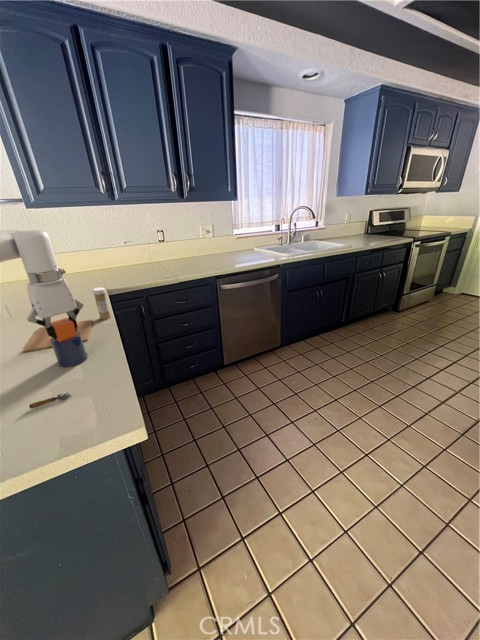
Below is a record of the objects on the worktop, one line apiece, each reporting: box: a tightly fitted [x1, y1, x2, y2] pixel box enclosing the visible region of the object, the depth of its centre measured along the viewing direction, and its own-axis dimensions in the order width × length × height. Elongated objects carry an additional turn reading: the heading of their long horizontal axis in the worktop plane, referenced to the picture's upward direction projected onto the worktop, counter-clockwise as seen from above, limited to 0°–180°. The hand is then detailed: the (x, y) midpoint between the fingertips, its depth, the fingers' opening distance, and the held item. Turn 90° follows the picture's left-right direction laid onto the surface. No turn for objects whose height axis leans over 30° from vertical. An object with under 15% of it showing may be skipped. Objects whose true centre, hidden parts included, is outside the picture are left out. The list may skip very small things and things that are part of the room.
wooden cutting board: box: [22, 319, 94, 353], centre depth 103 cm, size 20×20×1 cm
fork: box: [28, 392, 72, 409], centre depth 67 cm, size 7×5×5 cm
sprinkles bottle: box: [92, 287, 112, 320], centre depth 114 cm, size 5×5×13 cm
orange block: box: [51, 317, 77, 342], centre depth 81 cm, size 5×5×5 cm
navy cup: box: [50, 331, 89, 368], centre depth 84 cm, size 8×8×8 cm
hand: (64, 333), depth 82 cm, fingers open, 5 cm apart
